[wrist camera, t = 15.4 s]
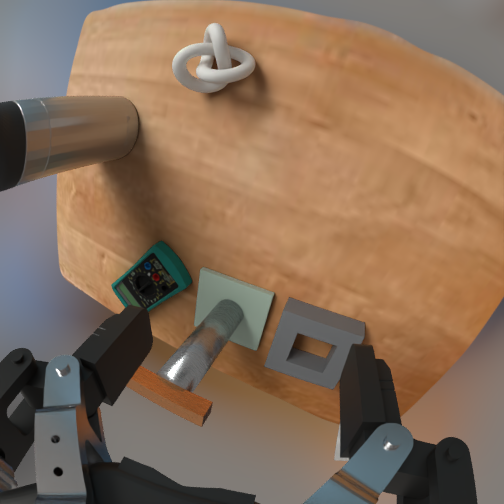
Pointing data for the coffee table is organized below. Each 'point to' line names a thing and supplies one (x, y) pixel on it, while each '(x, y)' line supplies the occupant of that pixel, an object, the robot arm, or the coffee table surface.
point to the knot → (207, 50)
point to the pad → (244, 294)
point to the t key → (190, 365)
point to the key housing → (318, 327)
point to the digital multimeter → (152, 278)
